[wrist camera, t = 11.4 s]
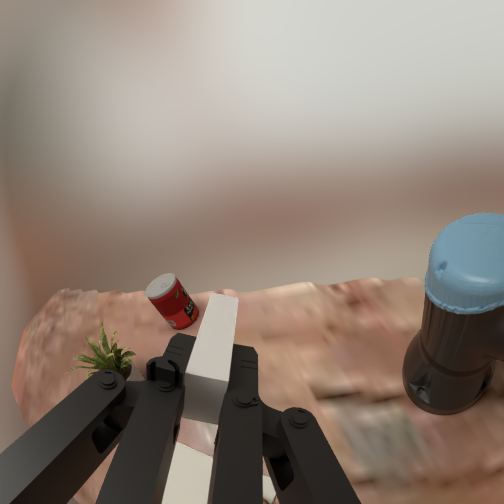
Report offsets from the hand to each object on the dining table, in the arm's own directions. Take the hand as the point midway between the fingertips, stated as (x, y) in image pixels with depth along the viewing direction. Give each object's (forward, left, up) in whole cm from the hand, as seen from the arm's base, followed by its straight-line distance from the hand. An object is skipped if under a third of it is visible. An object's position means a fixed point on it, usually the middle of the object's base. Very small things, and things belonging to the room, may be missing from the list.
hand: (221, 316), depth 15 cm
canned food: (+37, -20, -28) cm, 50 cm away
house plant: (+37, +2, -28) cm, 46 cm away
